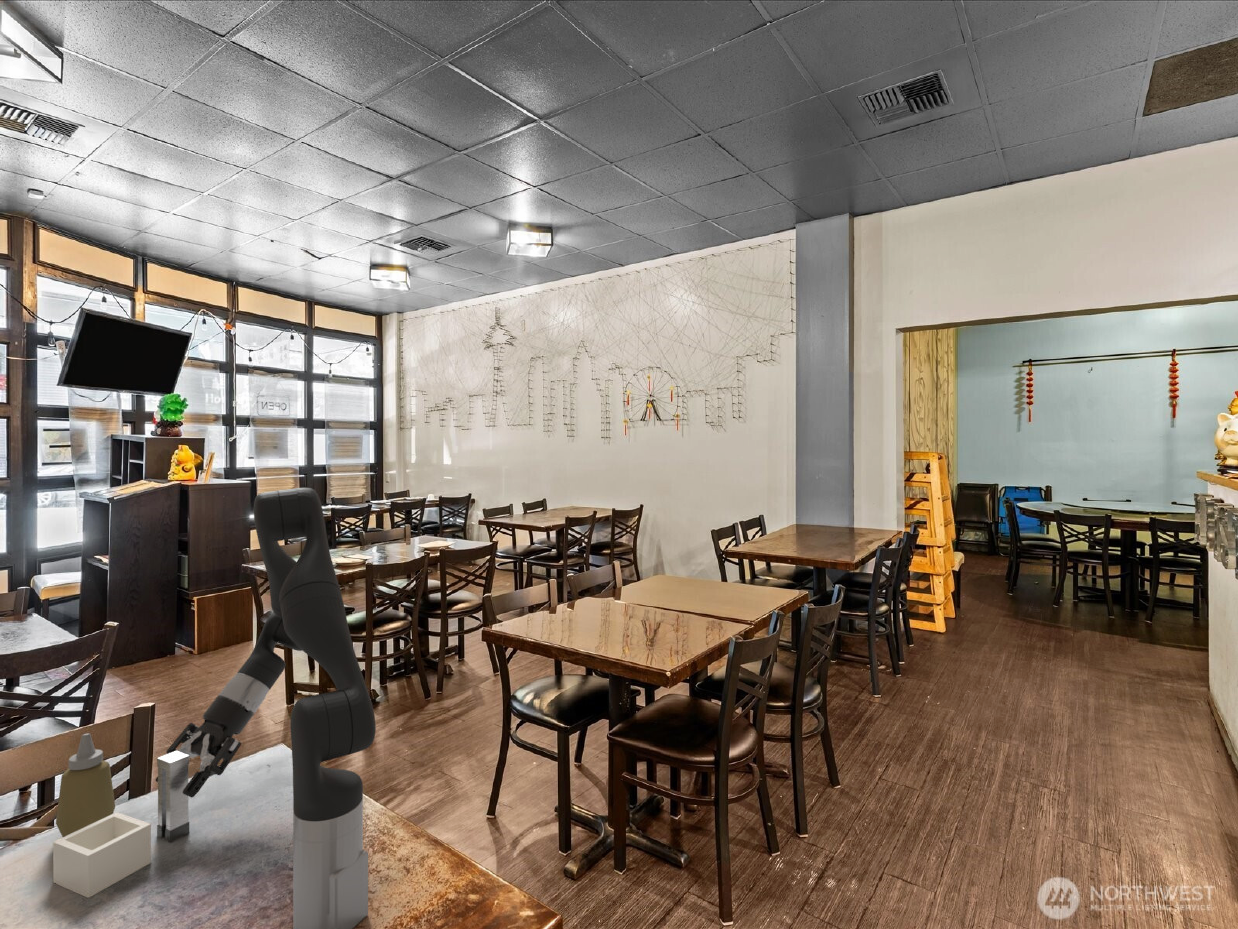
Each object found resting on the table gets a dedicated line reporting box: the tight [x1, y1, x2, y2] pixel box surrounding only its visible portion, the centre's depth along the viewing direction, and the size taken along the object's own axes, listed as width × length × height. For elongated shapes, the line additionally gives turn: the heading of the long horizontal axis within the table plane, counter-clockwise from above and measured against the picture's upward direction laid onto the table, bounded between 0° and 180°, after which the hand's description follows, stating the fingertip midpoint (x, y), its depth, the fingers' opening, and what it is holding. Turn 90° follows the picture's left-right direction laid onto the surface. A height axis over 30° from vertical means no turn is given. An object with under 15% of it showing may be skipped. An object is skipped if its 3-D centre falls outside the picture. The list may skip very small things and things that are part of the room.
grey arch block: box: [156, 751, 190, 843], centre depth 112 cm, size 4×3×14 cm
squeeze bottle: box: [55, 733, 116, 838], centre depth 111 cm, size 8×8×18 cm
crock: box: [52, 811, 152, 899], centre depth 102 cm, size 9×9×6 cm
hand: (173, 789), depth 112 cm, fingers open, 8 cm apart
